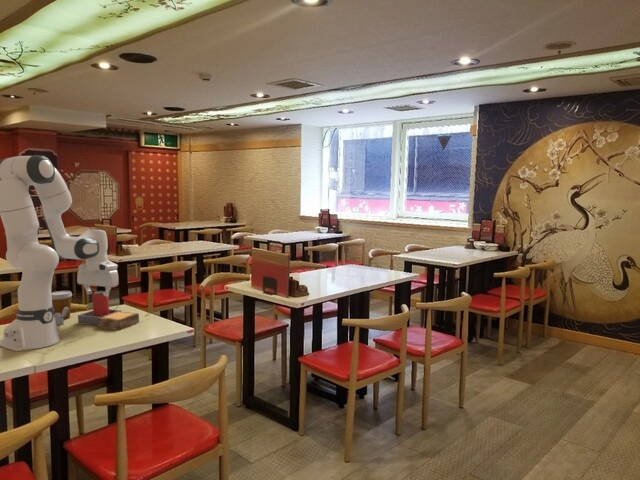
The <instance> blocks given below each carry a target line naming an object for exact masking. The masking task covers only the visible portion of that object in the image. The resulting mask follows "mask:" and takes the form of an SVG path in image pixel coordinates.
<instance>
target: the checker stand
mask: <svg viewBox="0 0 640 480" xmlns="http://www.w3.org/2000/svg"><path fill="white" fill-rule="evenodd" d="M117 312H118V311H117ZM117 312H114V313H117ZM114 313H111V314H114ZM121 313H129V312H126V311H121ZM130 313H131V314H134V315H131V316H128V317H126V318H123V319H120V320H118V319H108V318H103V317H105V316H103V317H100V318H98V325H97V326H98V328H101V329H102V328H103V329H110V330H112V329H113V330H118V331H121V330H123V329H125V328H128V327H131V326H133V325H136V324H138V323H140V315H139V313H138V312H130ZM111 314H109V315H111ZM106 316H108V315H106Z"/></svg>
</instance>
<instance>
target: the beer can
mask: <svg viewBox="0 0 640 480" xmlns="http://www.w3.org/2000/svg"><path fill="white" fill-rule="evenodd" d="M105 291H106V290H97V291H94V292H93V293H92V294H93V295H92V298H91V299H92V310H93V316H96V317H102V316H105V315H108V314H109V309H110V301H109V296H107V297H106V296H103V295H104V294H103V293H104V292H105Z"/></svg>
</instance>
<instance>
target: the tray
mask: <svg viewBox="0 0 640 480" xmlns="http://www.w3.org/2000/svg"><path fill="white" fill-rule="evenodd" d="M117 311H118V312H122V309H121V310H120V309H111V308H109V314H111V313H114V312H117ZM109 314H108V315H109ZM105 316H106V315H105ZM102 317H103V316H102ZM98 318H100V317H96V316H93V309H92V310H89V311H87V312H84V313H80V314H78V315H77V321H78V324H85V325H92V326H93V325H94V326H98Z"/></svg>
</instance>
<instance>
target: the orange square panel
mask: <svg viewBox="0 0 640 480" xmlns="http://www.w3.org/2000/svg"><path fill="white" fill-rule="evenodd" d="M121 312H122V311H121ZM121 312H117V313H114V314H111V315H108V316H105V317H103V318H108V319H118V320H120V319H123V318H126V317H128V316H131V315H134V314H131V313H132V312H128V313H121Z"/></svg>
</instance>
